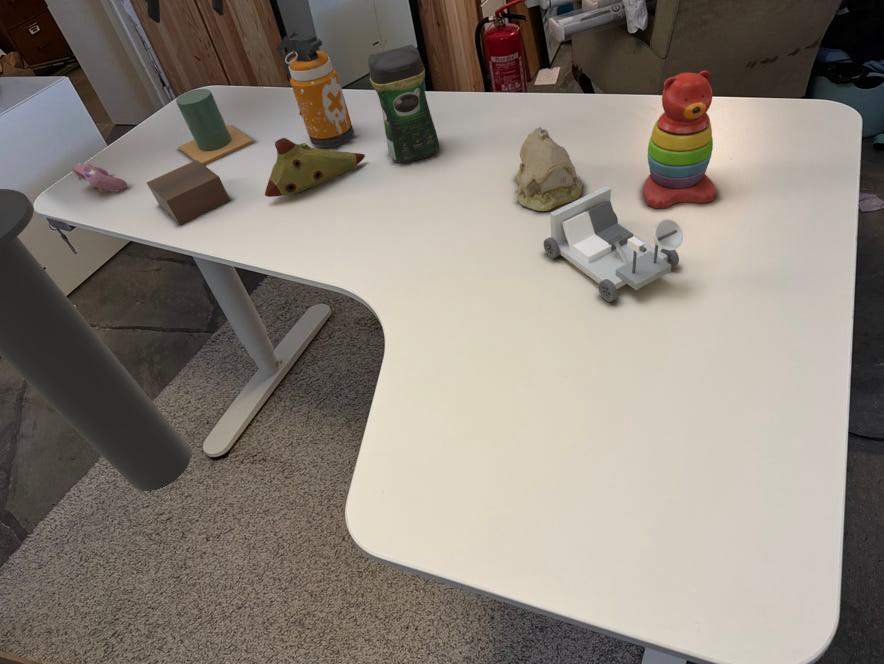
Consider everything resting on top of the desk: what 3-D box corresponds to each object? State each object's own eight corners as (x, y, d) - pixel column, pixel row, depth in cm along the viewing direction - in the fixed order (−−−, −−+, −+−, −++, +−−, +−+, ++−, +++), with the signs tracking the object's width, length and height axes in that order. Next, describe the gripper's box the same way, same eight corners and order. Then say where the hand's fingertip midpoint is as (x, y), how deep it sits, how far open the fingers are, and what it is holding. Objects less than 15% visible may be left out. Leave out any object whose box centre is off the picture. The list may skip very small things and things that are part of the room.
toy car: (702, 217, 74) (630, 255, 71) (692, 279, 81) (626, 316, 78) (606, 163, 85) (540, 194, 82) (604, 222, 93) (543, 252, 89)
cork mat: (179, 149, 129) (177, 146, 129) (229, 127, 134) (228, 124, 134) (201, 166, 123) (200, 163, 122) (253, 142, 127) (252, 139, 127)
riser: (159, 206, 113) (146, 182, 110) (208, 183, 117) (196, 159, 114) (180, 225, 108) (166, 200, 104) (230, 200, 111) (218, 176, 108)
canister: (334, 153, 119) (300, 46, 105) (295, 144, 124) (257, 41, 110) (363, 132, 124) (334, 27, 110) (324, 124, 129) (291, 23, 114)
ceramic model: (593, 200, 97) (594, 142, 90) (526, 217, 96) (522, 159, 89) (563, 160, 107) (562, 104, 99) (502, 175, 106) (496, 120, 98)
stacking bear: (648, 210, 93) (658, 95, 80) (634, 176, 100) (642, 66, 87) (719, 202, 92) (741, 84, 80) (701, 168, 99) (718, 56, 87)
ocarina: (360, 157, 117) (346, 106, 109) (373, 167, 113) (359, 115, 106) (264, 199, 110) (242, 148, 103) (274, 211, 107) (252, 159, 100)
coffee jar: (433, 137, 119) (414, 36, 105) (444, 154, 113) (425, 50, 100) (385, 150, 117) (360, 49, 104) (394, 168, 112) (369, 65, 99)
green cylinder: (193, 145, 128) (170, 98, 121) (223, 132, 131) (202, 85, 124) (206, 154, 125) (183, 107, 117) (237, 141, 127) (216, 93, 120)
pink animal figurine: (95, 190, 124) (62, 170, 118) (108, 172, 125) (75, 151, 119) (117, 203, 119) (83, 182, 113) (130, 184, 120) (97, 162, 114)
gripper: (248, -89, 121) (254, 18, 122) (134, -73, 124) (140, 32, 125) (228, -117, 114) (235, -3, 114) (107, -99, 117) (114, 12, 117)
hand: (185, 15), depth 120 cm, fingers open, 13 cm apart
